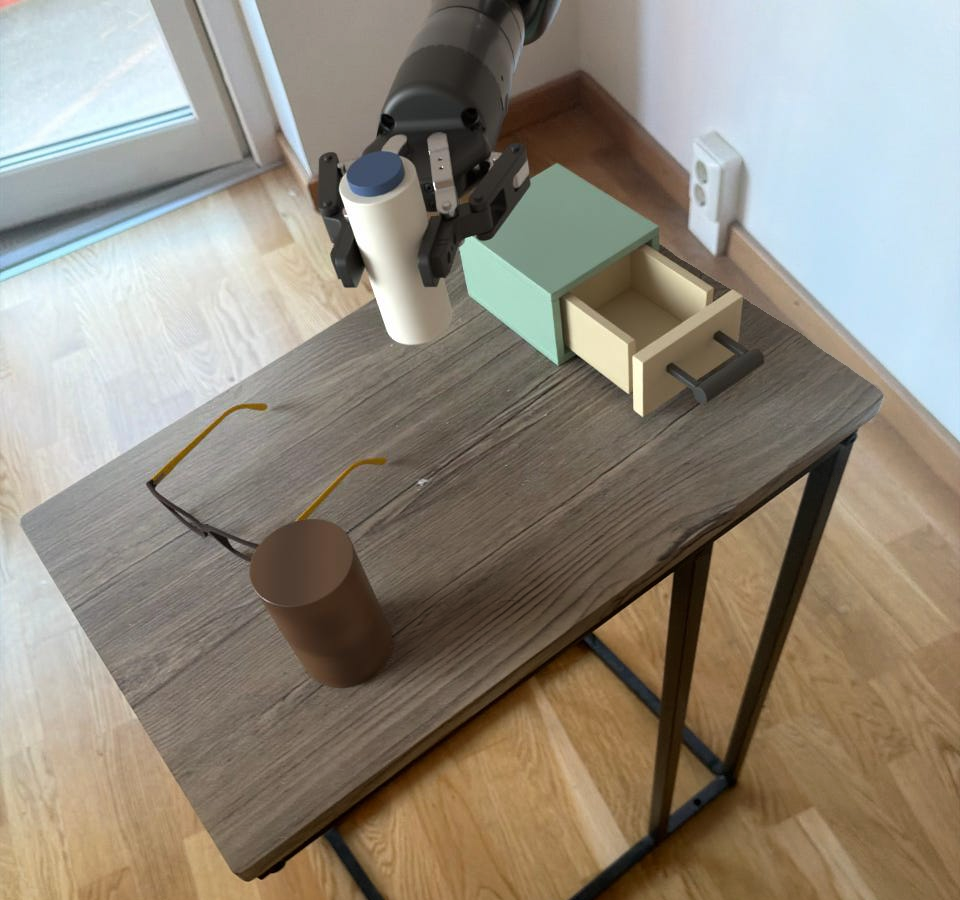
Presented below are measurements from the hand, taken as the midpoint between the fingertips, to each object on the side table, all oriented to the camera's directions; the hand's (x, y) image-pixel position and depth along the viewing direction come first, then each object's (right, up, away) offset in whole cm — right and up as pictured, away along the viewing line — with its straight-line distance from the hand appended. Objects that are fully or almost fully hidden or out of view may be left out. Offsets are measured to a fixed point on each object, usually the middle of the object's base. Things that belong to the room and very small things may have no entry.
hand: (385, 274), depth 54 cm
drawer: (+21, +2, +25) cm, 32 cm away
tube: (+2, -1, +6) cm, 6 cm away
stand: (-4, -22, +16) cm, 27 cm away
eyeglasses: (-12, -9, +25) cm, 29 cm away
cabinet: (+13, +10, +32) cm, 36 cm away
